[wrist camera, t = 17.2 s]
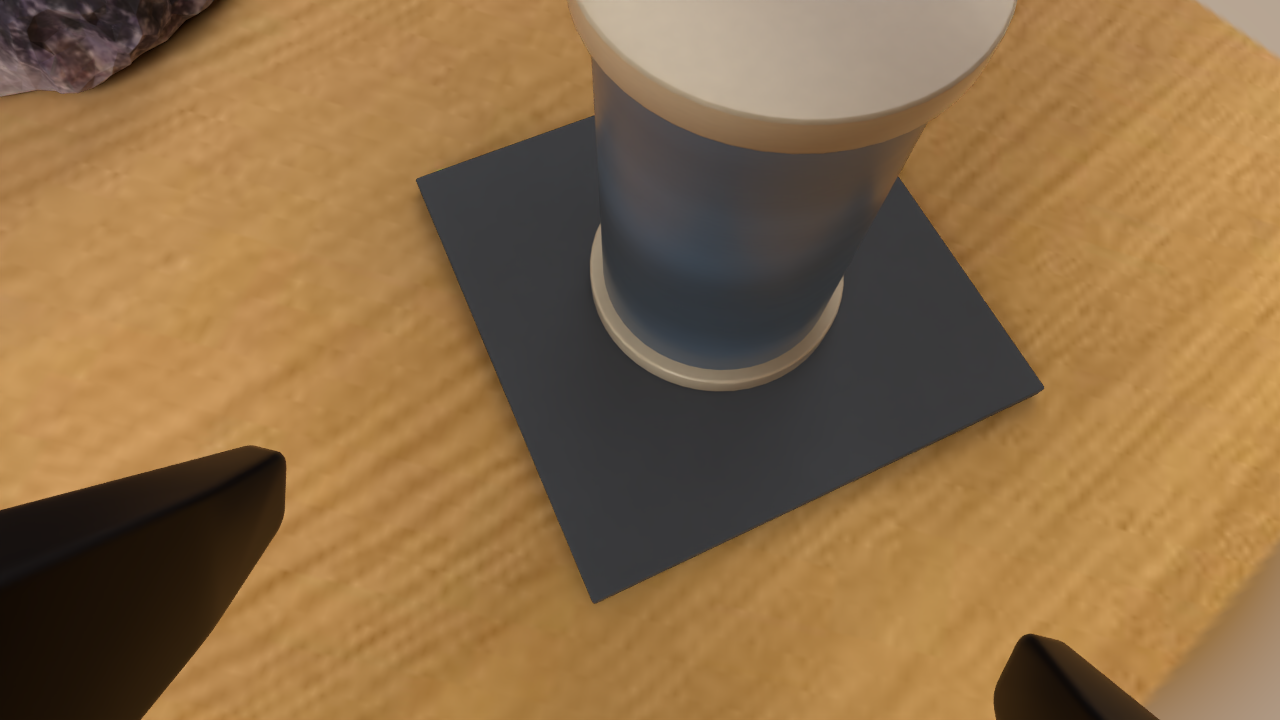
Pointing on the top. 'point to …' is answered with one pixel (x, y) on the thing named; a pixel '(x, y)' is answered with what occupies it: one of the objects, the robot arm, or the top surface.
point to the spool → (755, 163)
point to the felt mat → (698, 419)
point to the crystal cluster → (81, 39)
